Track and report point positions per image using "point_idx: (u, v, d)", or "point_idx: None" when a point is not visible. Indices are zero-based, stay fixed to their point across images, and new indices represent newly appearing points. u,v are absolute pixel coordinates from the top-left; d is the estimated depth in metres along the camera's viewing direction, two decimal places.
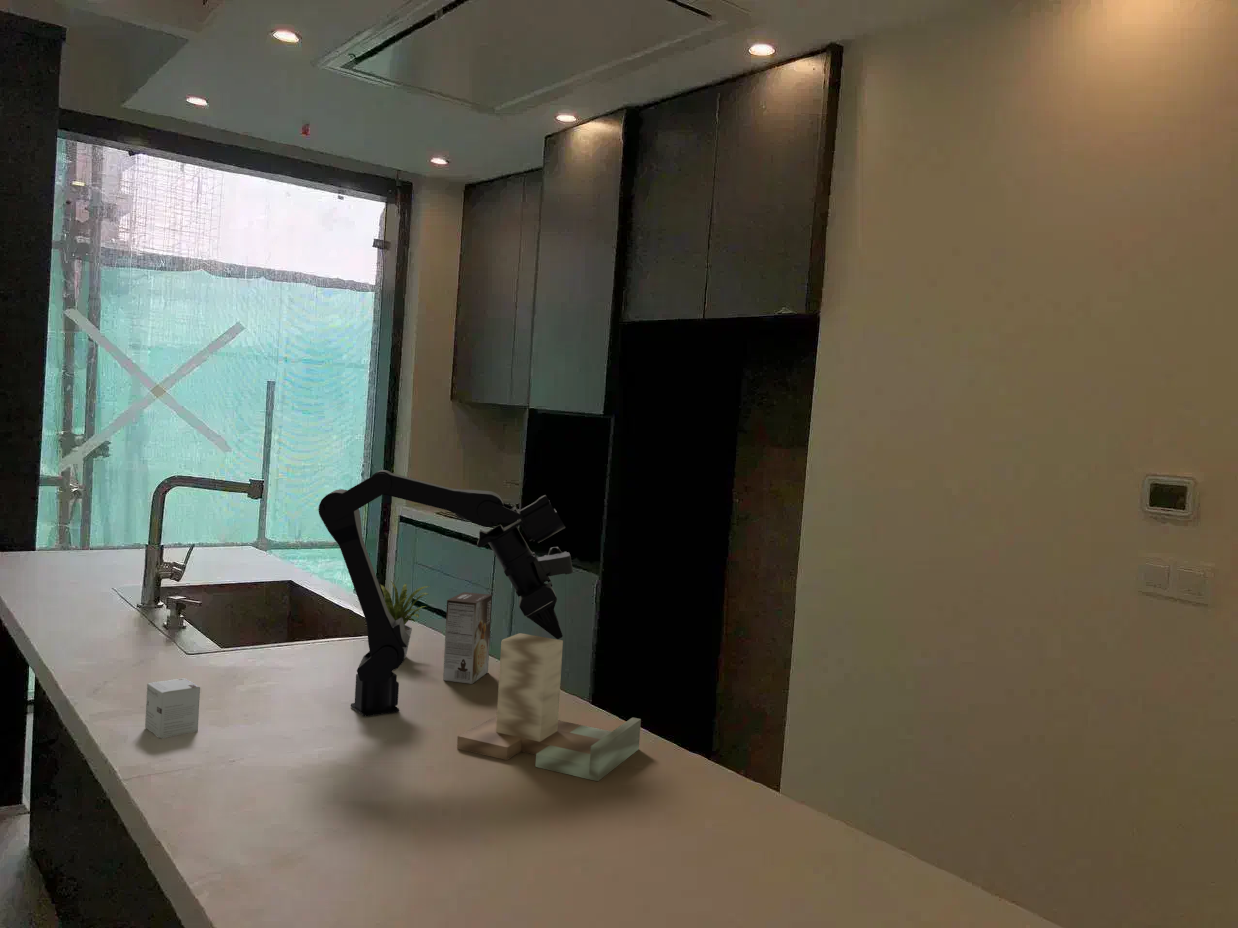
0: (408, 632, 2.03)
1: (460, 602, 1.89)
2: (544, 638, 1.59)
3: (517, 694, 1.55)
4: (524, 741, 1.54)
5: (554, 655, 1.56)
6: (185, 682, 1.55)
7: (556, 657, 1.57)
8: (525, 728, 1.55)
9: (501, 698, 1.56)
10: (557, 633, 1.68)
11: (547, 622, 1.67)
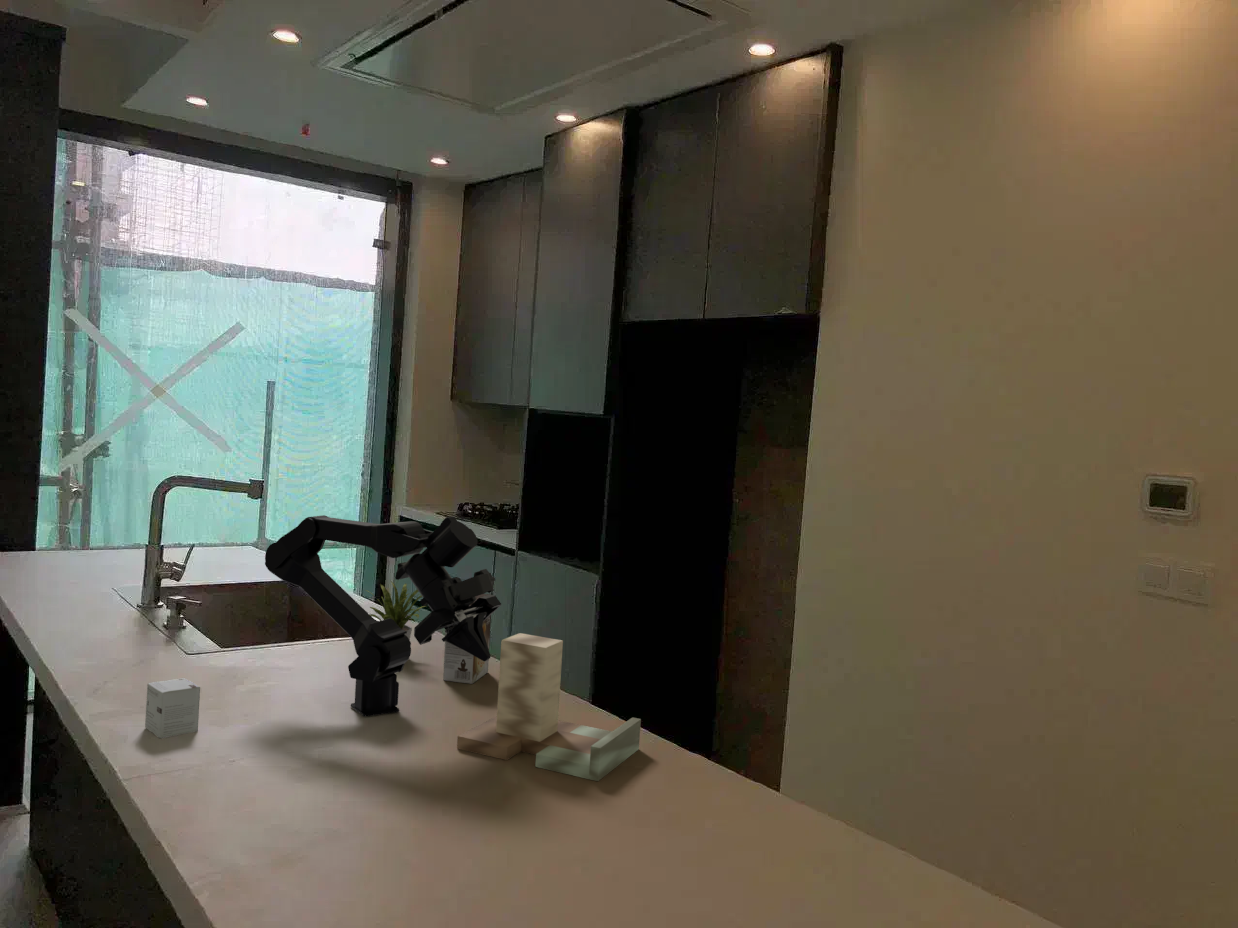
0: (408, 632, 2.03)
1: None
2: (544, 638, 1.59)
3: (517, 694, 1.55)
4: (524, 741, 1.54)
5: (554, 655, 1.56)
6: (185, 682, 1.55)
7: (556, 657, 1.57)
8: (525, 728, 1.55)
9: (501, 698, 1.56)
10: (482, 654, 1.60)
11: (468, 644, 1.60)
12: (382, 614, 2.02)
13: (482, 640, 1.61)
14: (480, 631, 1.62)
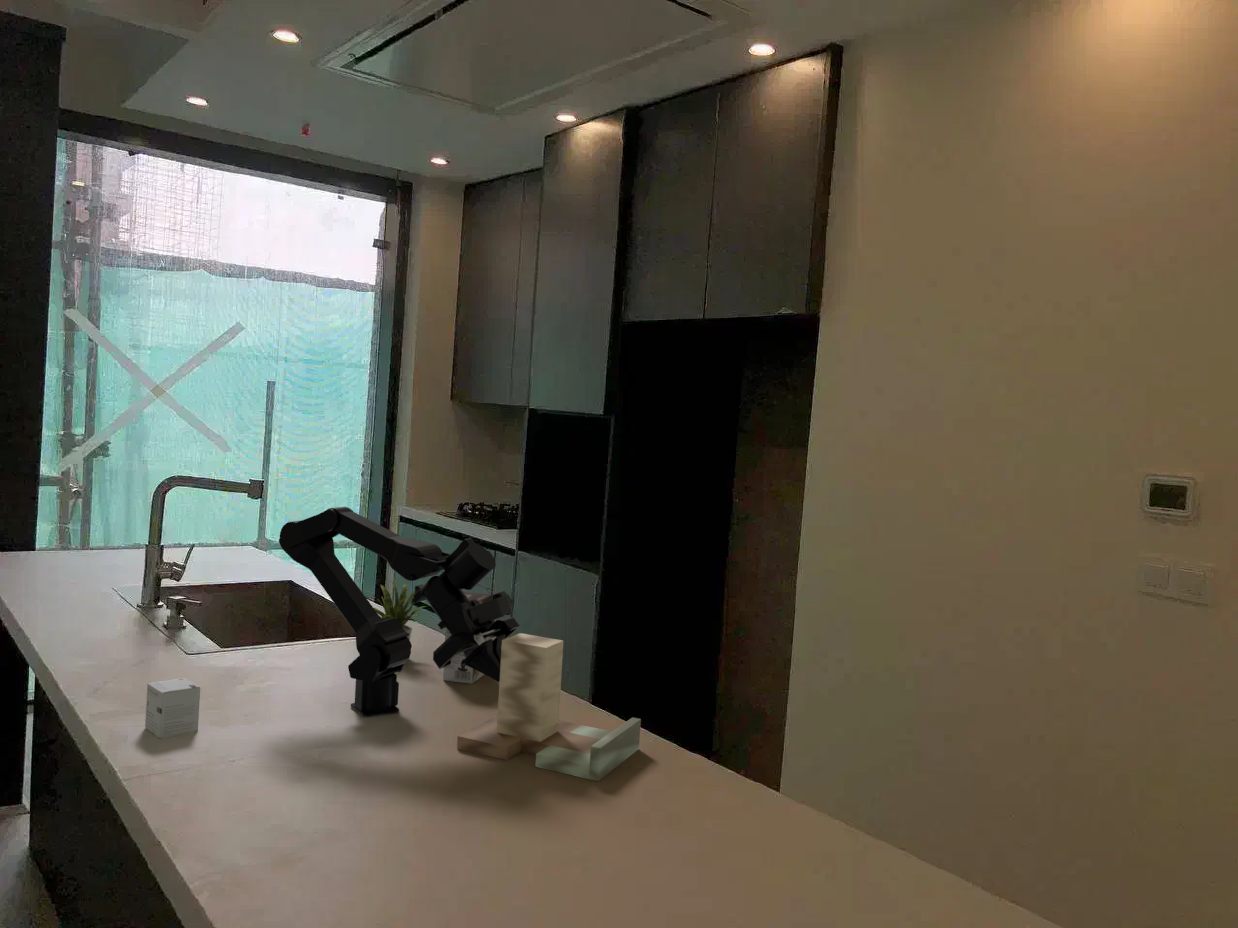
0: (408, 632, 2.03)
1: None
2: (545, 638, 1.59)
3: (518, 694, 1.55)
4: (524, 741, 1.54)
5: (555, 655, 1.56)
6: (185, 682, 1.55)
7: (557, 657, 1.57)
8: (526, 729, 1.55)
9: (501, 698, 1.56)
10: None
11: (487, 667, 1.59)
12: (382, 614, 2.02)
13: None
14: (499, 654, 1.61)
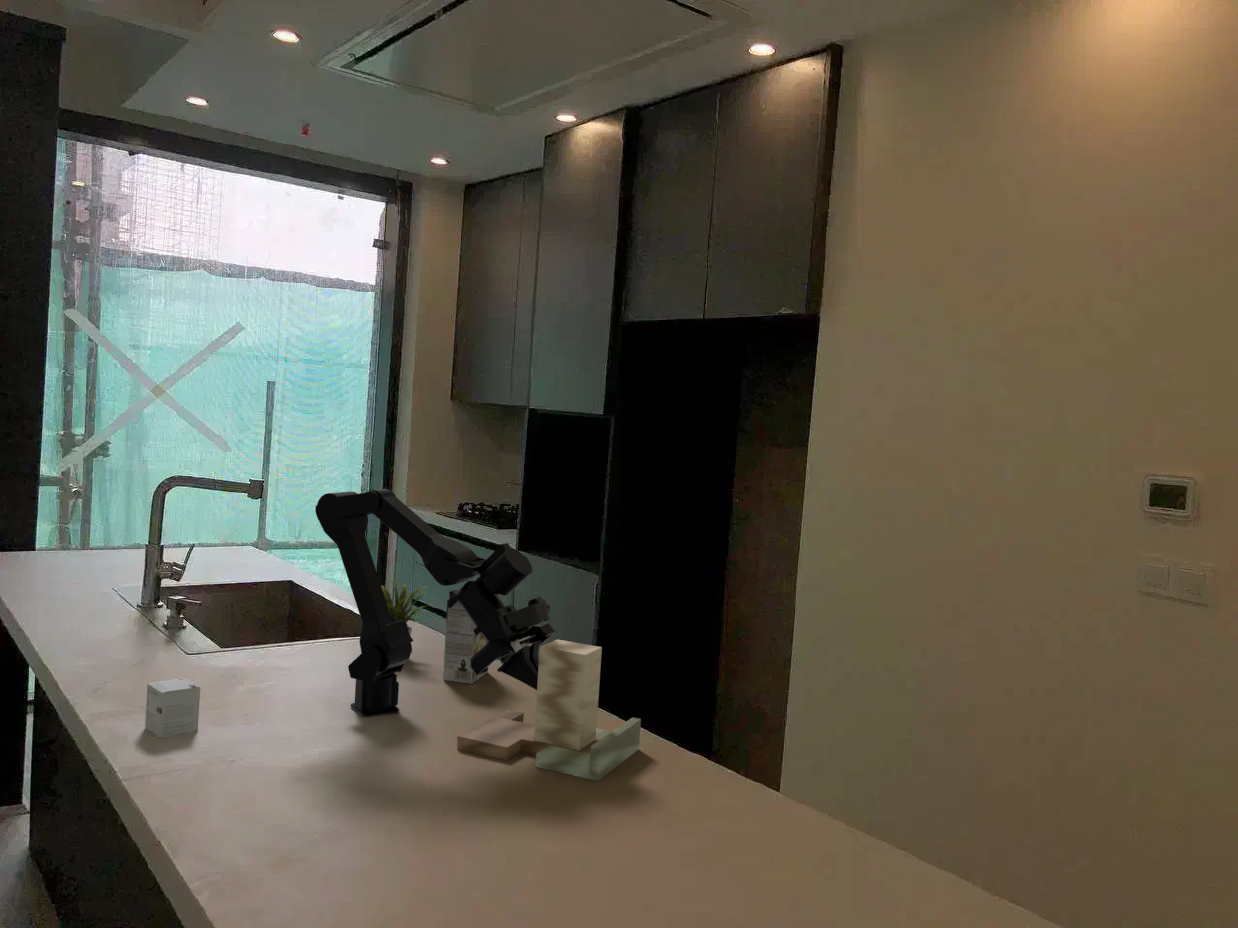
0: None
1: None
2: (582, 645, 1.56)
3: (556, 702, 1.52)
4: (524, 741, 1.54)
5: (594, 662, 1.53)
6: (185, 682, 1.55)
7: (595, 664, 1.54)
8: (564, 737, 1.52)
9: (539, 706, 1.54)
10: None
11: (523, 674, 1.56)
12: None
13: None
14: (536, 661, 1.58)
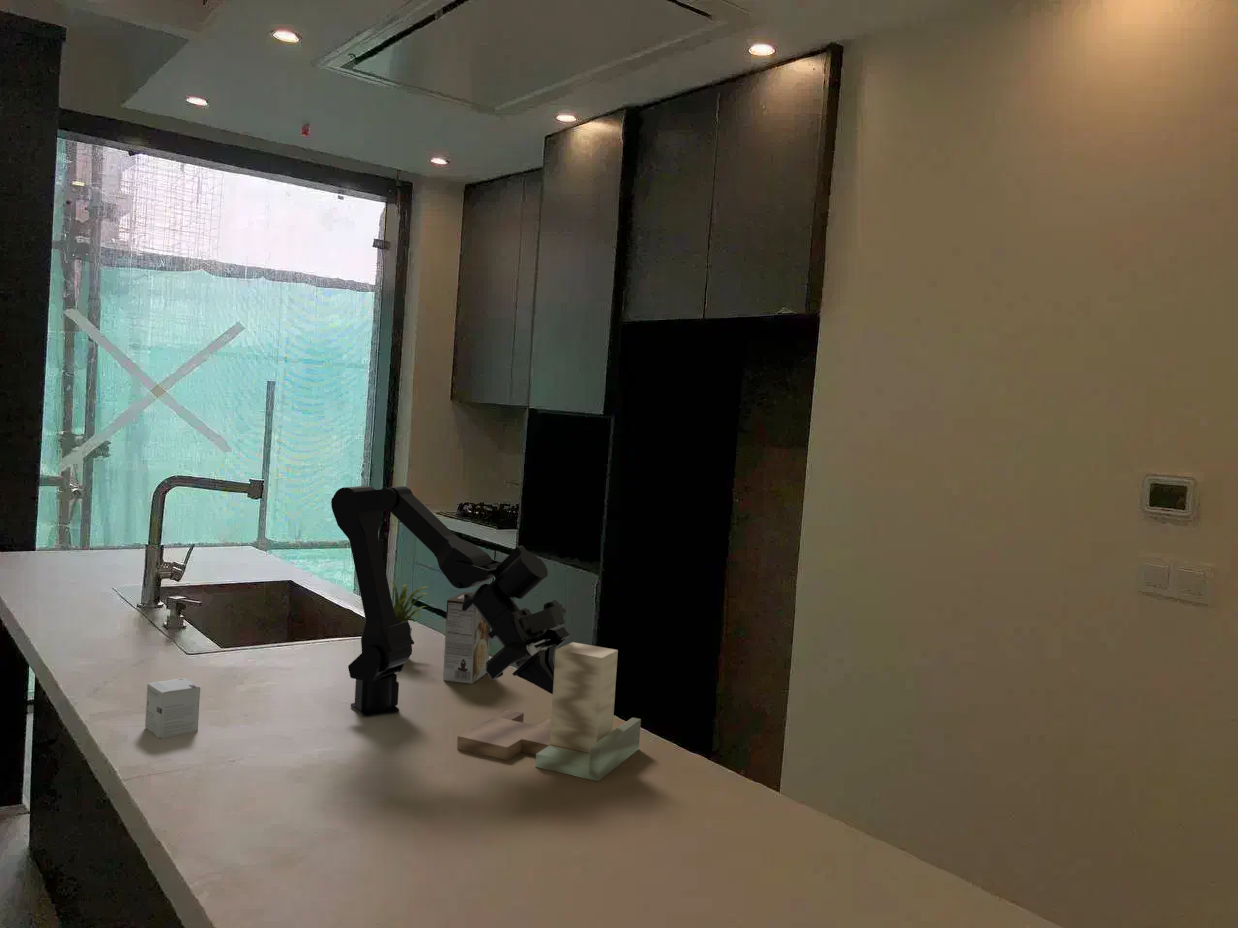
0: None
1: (460, 602, 1.89)
2: (598, 647, 1.55)
3: (572, 705, 1.51)
4: (524, 741, 1.54)
5: (610, 665, 1.52)
6: (185, 682, 1.55)
7: (611, 667, 1.53)
8: (581, 740, 1.51)
9: (555, 709, 1.52)
10: None
11: (539, 678, 1.55)
12: None
13: (553, 674, 1.56)
14: (551, 665, 1.57)
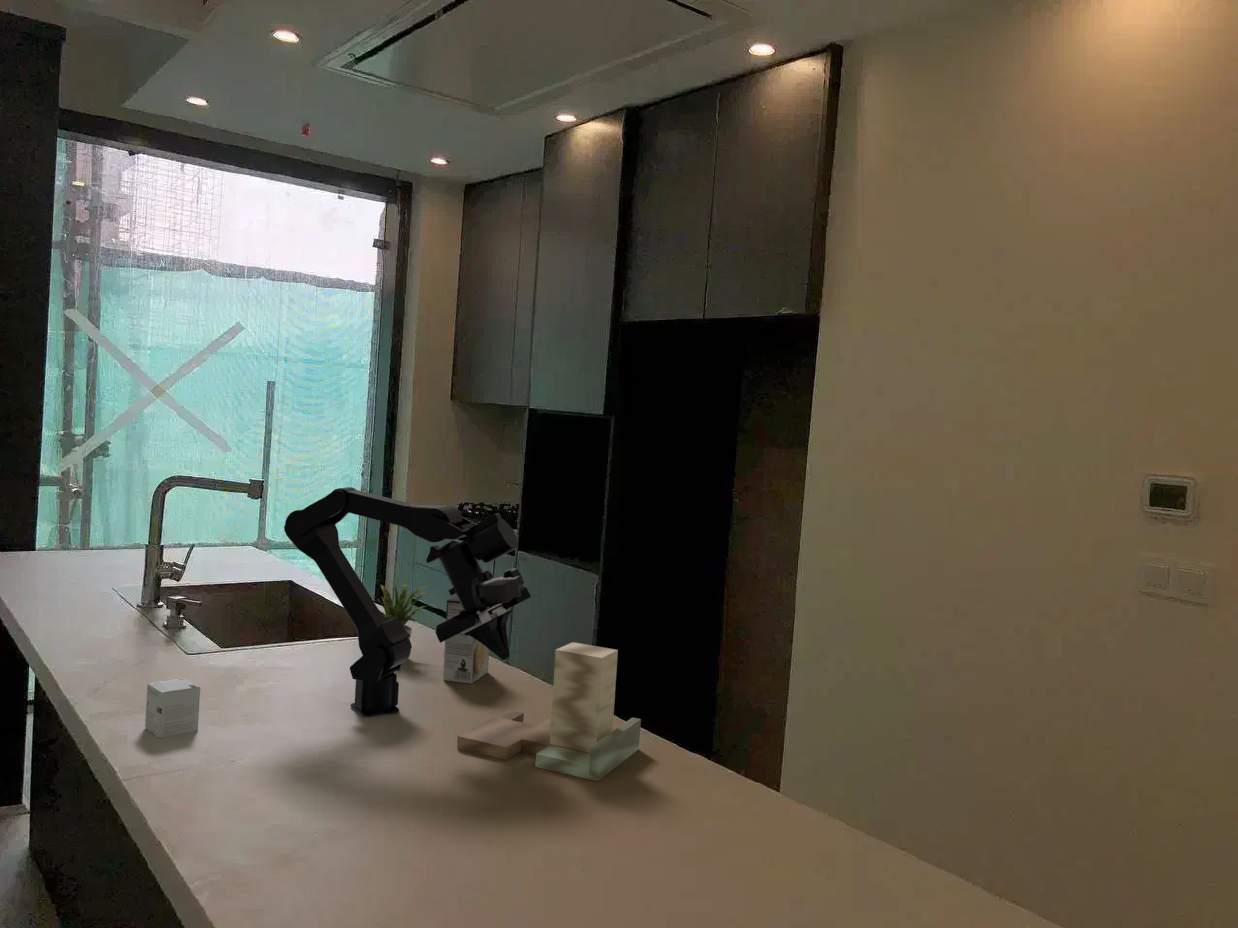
0: (408, 632, 2.03)
1: None
2: (598, 647, 1.55)
3: (572, 705, 1.51)
4: (524, 741, 1.54)
5: (610, 665, 1.52)
6: (185, 682, 1.55)
7: (611, 667, 1.53)
8: (581, 740, 1.51)
9: (555, 709, 1.52)
10: (501, 654, 1.63)
11: (489, 641, 1.63)
12: (382, 614, 2.02)
13: (503, 639, 1.63)
14: (503, 629, 1.64)
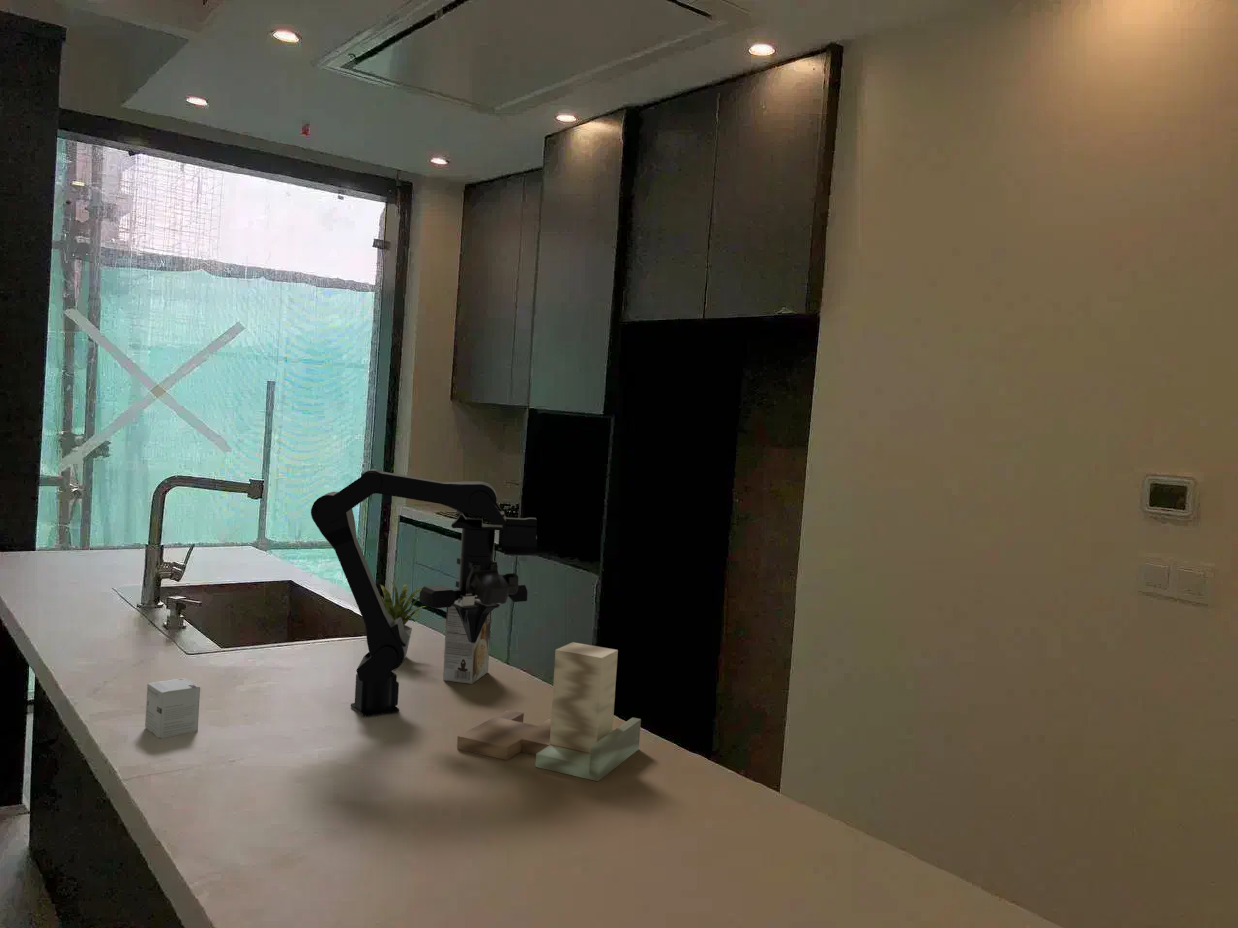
0: (408, 632, 2.03)
1: None
2: (598, 647, 1.55)
3: (572, 705, 1.51)
4: (524, 741, 1.54)
5: (610, 665, 1.52)
6: (185, 682, 1.55)
7: (611, 667, 1.53)
8: (581, 740, 1.51)
9: (555, 709, 1.52)
10: (469, 636, 1.71)
11: (465, 620, 1.71)
12: None
13: (477, 626, 1.70)
14: (482, 618, 1.70)
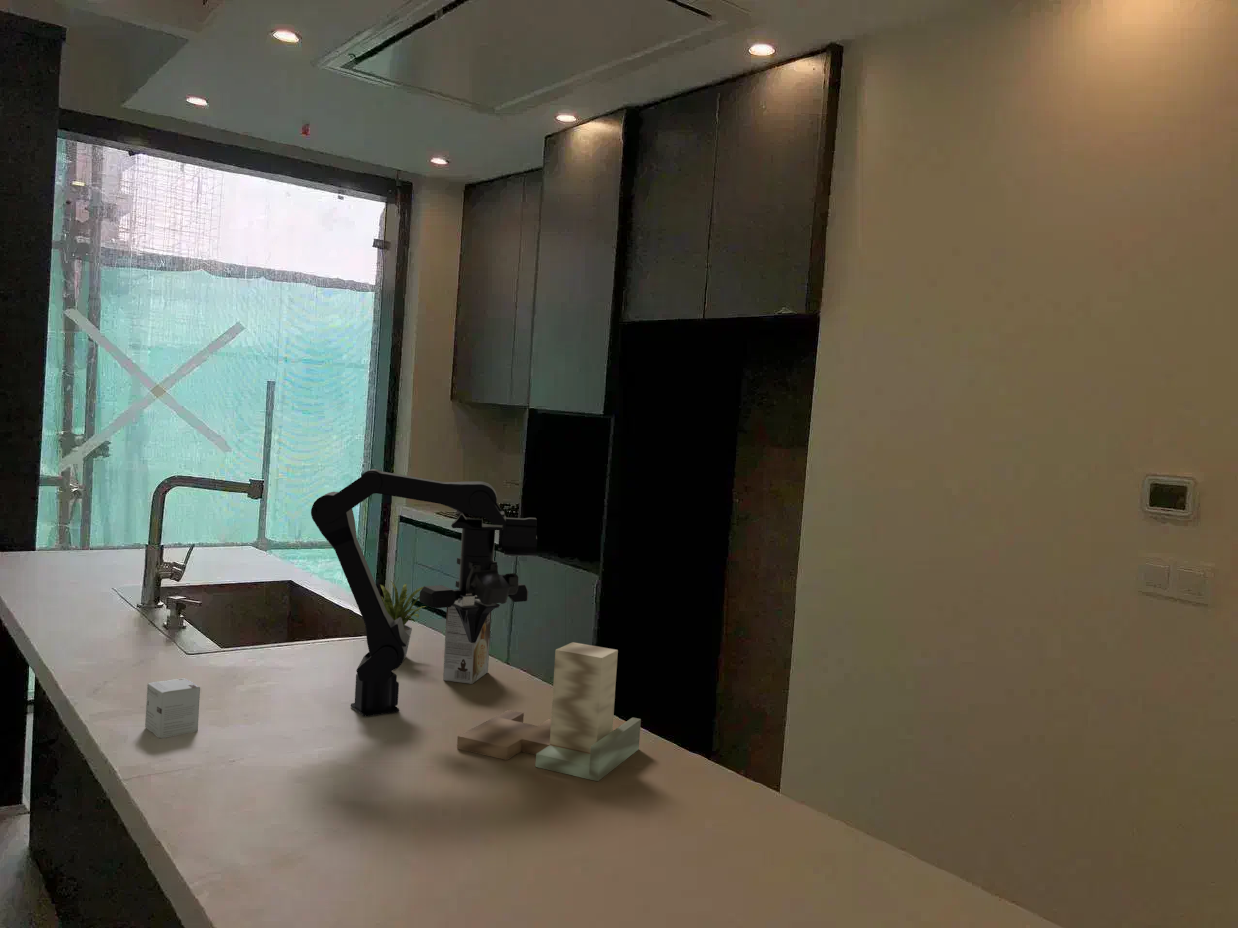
0: (408, 632, 2.03)
1: None
2: (598, 647, 1.55)
3: (572, 705, 1.51)
4: (524, 741, 1.54)
5: (610, 665, 1.52)
6: (185, 682, 1.55)
7: (611, 667, 1.53)
8: (581, 740, 1.51)
9: (555, 709, 1.52)
10: (469, 636, 1.71)
11: (465, 620, 1.71)
12: None
13: (477, 626, 1.70)
14: (482, 618, 1.70)
